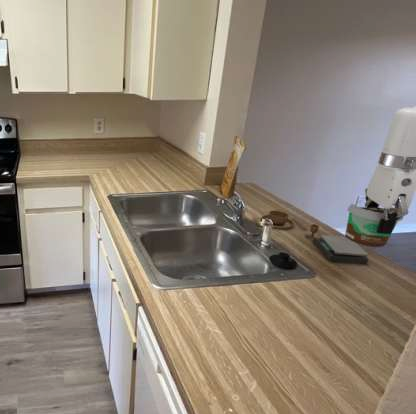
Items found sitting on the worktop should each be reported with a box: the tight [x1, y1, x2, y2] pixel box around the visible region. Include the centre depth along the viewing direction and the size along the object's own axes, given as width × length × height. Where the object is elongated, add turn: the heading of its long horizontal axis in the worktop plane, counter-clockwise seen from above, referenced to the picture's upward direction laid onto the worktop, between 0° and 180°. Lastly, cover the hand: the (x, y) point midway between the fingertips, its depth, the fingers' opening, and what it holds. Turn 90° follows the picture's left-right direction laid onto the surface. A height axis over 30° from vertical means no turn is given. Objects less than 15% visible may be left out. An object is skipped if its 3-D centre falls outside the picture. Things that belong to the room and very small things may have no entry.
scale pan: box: [319, 234, 369, 258], centre depth 113 cm, size 10×12×1 cm
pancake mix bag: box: [220, 135, 247, 199], centre depth 163 cm, size 7×19×28 cm, turn 165°
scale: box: [312, 237, 369, 266], centre depth 114 cm, size 11×13×3 cm
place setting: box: [254, 210, 320, 240], centre depth 131 cm, size 18×20×6 cm
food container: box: [344, 203, 404, 248], centre depth 87 cm, size 12×6×10 cm, turn 77°
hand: (375, 226), depth 87 cm, fingers closed on food container, 6 cm apart
